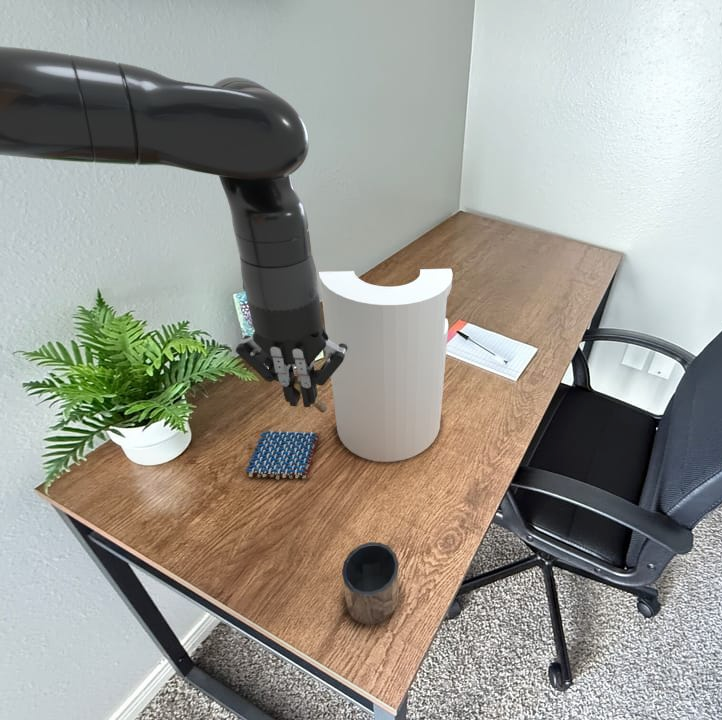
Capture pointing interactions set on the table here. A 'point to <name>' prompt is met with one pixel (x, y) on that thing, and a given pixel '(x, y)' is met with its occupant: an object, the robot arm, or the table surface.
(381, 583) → the cup
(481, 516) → the table surface
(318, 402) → the stirrer
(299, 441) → the woven mat
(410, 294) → the white curved half cylinder
